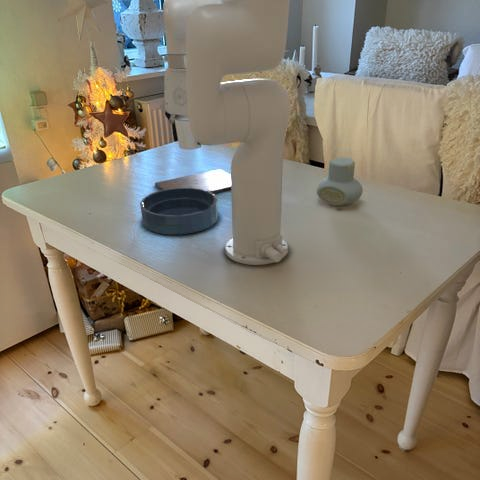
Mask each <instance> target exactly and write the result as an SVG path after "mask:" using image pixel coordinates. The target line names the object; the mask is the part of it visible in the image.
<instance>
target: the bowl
mask: <svg viewBox="0 0 480 480" xmlns="http://www.w3.org/2000/svg"><path fill="white" fill-rule="evenodd" d="M139 203H140V205H139V206H140V212H141V221H142V224H143V226H144V227H145V228H146V229H147V230H149V231H152V232H155V233H157V234H164V235H187V234H195V233H198V232H202V231H204V230H206V229H208V228H211V227H212V226H214V225H215V223H217V222H218V218H219V206H218V198H217V196H216V195H215V194H212V193H211V192H209V191H205V190H202V189H196V188H172V189H166V190H158V191H155V192H152V193H150V194H147V195H146V196H145V197H143V198H142V199H141V200H140V202H139Z"/></svg>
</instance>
